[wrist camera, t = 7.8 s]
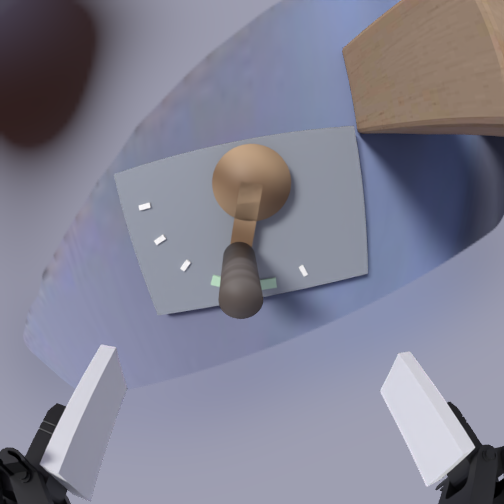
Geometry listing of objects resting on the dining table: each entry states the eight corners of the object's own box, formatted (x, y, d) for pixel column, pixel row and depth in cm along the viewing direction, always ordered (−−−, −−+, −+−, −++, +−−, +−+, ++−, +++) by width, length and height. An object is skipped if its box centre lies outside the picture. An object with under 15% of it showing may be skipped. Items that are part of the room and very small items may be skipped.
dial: (219, 139, 23) (210, 128, 14) (295, 152, 24) (327, 150, 15) (198, 289, 28) (185, 345, 19) (265, 298, 29) (276, 355, 20)
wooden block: (427, 134, 25) (570, 146, 6) (356, 134, 25) (519, 127, 6) (412, 57, 22) (538, 19, 3) (339, 48, 22) (458, -42, 3)
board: (348, 127, 25) (354, 125, 23) (362, 268, 30) (368, 274, 29) (119, 173, 25) (112, 174, 24) (161, 308, 31) (157, 316, 29)
